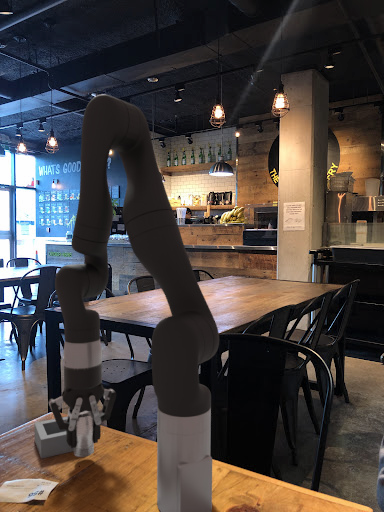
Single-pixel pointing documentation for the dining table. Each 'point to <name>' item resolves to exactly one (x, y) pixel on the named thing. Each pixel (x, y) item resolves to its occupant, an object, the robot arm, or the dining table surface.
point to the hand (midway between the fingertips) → (83, 443)
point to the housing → (51, 438)
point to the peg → (84, 434)
